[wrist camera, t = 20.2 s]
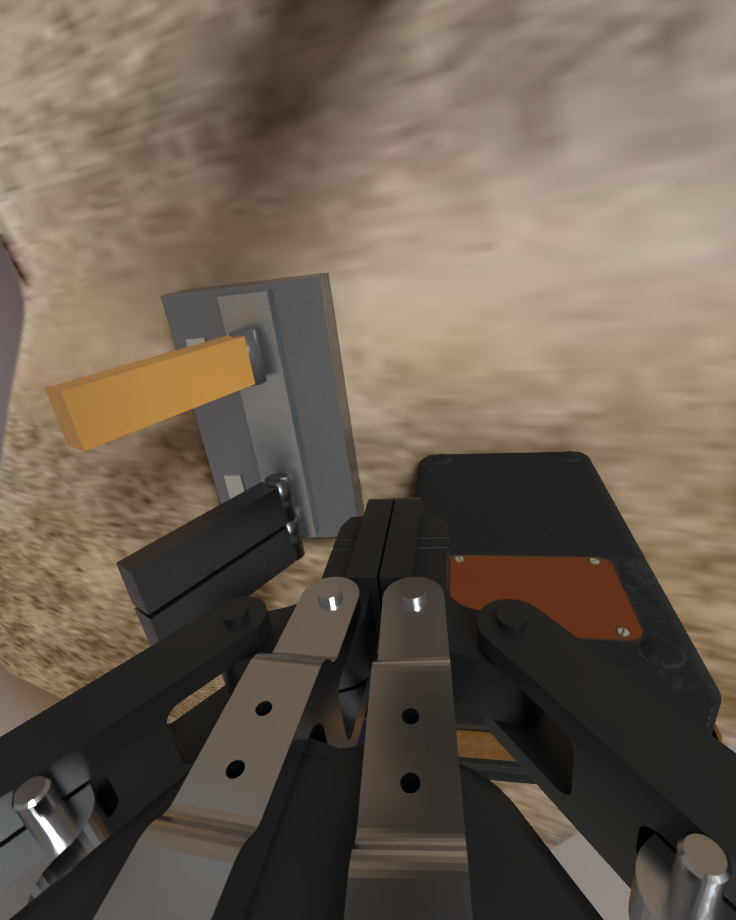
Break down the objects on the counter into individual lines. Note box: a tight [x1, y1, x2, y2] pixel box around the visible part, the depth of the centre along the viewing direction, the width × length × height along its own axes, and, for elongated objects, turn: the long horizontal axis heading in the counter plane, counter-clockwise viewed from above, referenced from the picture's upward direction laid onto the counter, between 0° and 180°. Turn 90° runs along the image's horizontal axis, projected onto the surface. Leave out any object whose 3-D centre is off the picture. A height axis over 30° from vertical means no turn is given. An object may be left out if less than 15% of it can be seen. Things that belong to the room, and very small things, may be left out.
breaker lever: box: [45, 328, 267, 451], centre depth 34 cm, size 4×2×15 cm, turn 7°
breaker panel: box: [116, 273, 364, 646], centre depth 38 cm, size 24×14×18 cm, turn 7°
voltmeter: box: [415, 451, 722, 784], centre depth 34 cm, size 16×9×25 cm, turn 95°
